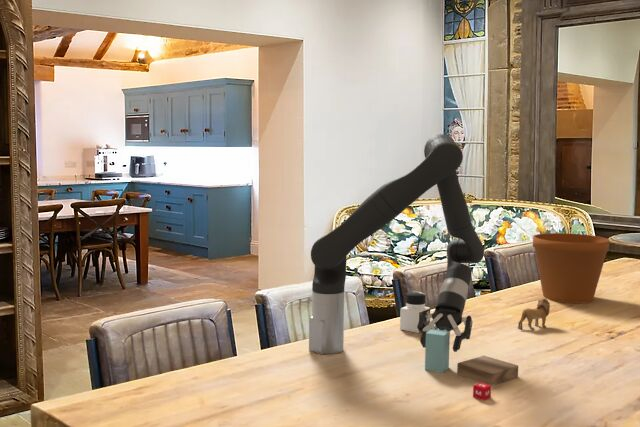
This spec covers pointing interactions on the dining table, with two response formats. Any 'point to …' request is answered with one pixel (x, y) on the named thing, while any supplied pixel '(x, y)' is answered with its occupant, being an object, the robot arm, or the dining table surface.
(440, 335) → the teal pillar block
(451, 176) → the robot arm
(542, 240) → the flowerpot
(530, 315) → the lion figurine
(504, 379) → the walnut base plate
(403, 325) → the medicine bottle
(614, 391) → the dining table surface
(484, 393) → the dice
